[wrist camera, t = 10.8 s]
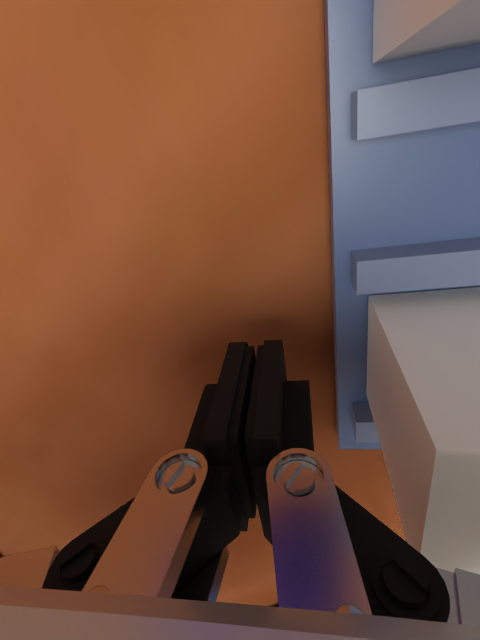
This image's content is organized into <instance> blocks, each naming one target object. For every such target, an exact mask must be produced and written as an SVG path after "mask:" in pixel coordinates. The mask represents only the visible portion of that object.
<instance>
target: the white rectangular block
mask: <svg viewBox="0 0 480 640" xmlns="http://www.w3.org/2000/svg"><path fill="white" fill-rule="evenodd" d="M366 395H367V398H368V402H369V406H370V409H371V413H372V417H373V420H374V424H375V428H376V431H377V435H378V439H379V442H380V446H381V450H382V453H383V457H384V461H385V464H386V468H387V472H388V475H389V479H390V483H391V486H392V490H393V493H394V497H395V501H396V504H397V508H398V512H399V515H400V519H401V523H402V526H403V530H404V534H405V537H406V541H407V543H408V544H409V545H411V546H412V547H413V548H414V549H416V550H417V551H418V552H419V553H421V554H422V555H423V556H424V557H426V558H427V559H428V560H429V561H430V562H431V563H432V564H433V565H434V566H435V567H436V568H440V569H443V570H447V571H450V572H454V571H455V568H458V569H461V570H465V571H469V572H472V573H476V574H479V575H480V287H472V288H460V289H447V290H435V291H422V292H410V293H397V294H384V295H372V296H369V298H368V343H367V387H366Z"/></svg>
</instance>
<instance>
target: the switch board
mask: <svg viewBox="0 0 480 640" xmlns="http://www.w3.org/2000/svg"><path fill="white" fill-rule="evenodd" d="M373 9H374V0H324V29H325V62H326V95H327V128H328V161H329V194H330V226H331V259H332V292H333V325H334V358H335V391H336V423H337V436H338V443H339V449H381V446H380V442H379V439H378V435H377V431H376V428H375V424H374V420H373V417H372V413H371V409H370V406H369V402H368V398H367V395H366V387H367V343H368V298H369V296H372V295H384V294H397V293H410V292H422V291H435V290H447V289H460V288H472V287H480V43H479V44H473V45H468V46H463V47H458V48H453V49H448V50H443V51H438V52H432V53H427V54H422V55H417V56H412V57H407V58H402V59H397V60H391V61H386V62H381V63H376V64H372V57H373Z"/></svg>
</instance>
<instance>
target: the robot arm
mask: <svg viewBox="0 0 480 640" xmlns="http://www.w3.org/2000/svg"><path fill="white" fill-rule="evenodd" d="M257 505H258V510H259V515H260V518H261V523H262V528H263V532H264V536H265V537H266V539H267V540H268V541H269V542H270V543H271V544H272V545H273V553H274V563H275V574H276V584H277V594H278V605H279V607H270V606H259V605H246V604H234V603H222V602H216V599H217V595H218V592H219V588H220V585H221V581H222V578H223V574H224V571H225V567H226V564H227V560H228V557H229V552H230V543H231V542H232V541H233V540H234V539H235V538H236V537H238V536H239V533H240V531H247V528H248V519H249V518H255V515H256V506H257ZM0 640H480V575H479V574H476V573H472V572H469V571H465V570H461V569H458V568H455V571H454V572H450V571H447V570H443V569H440V568H436V567H435V566H434V565H433V564H432V563H431V562H430V561H429V560H428V559H427V558H426V557H424V556H423V555H422V554H421V553H419V552H418V551H417V550H416V549H414V548H413V547H412V546H411V545H409V544H408V543H407V542H406V541H404V540H403V539H402V538H401V537H399V536H398V535H397V534H396V533H394V532H393V531H392V530H391V529H389V528H388V527H387V526H386V525H384V524H383V523H382V522H381V521H379V520H378V519H377V518H376V517H374V516H373V515H372V514H371V513H369V512H368V511H367V510H366V509H364V508H363V507H362V506H361V505H359V504H358V503H357V502H356V501H354V500H353V499H352V498H351V497H349V496H348V495H347V494H346V493H344V492H343V491H342V490H341V489H339V488H338V487H337V486H336V485H335V484H334V481H333V477H332V474H331V470H330V468H329V466H328V464H327V462H326V461H325V460H324V459H323V458H322V457H321V456H320V455H319V454H317V453H315V452H314V444H313V429H312V414H311V401H310V388H309V380H302V381H287V377H286V368H285V359H284V350H283V342H282V340H270V341H264V345H262V346H258V349H257V356H255V350H254V346H248V344H247V342H238V343H229V345H228V349H227V352H226V356H225V359H224V363H223V366H222V370H221V373H220V377H219V380H218V384H207V385H206V386H205V388H204V391H203V394H202V397H201V400H200V403H199V406H198V409H197V412H196V415H195V418H194V421H193V424H192V427H191V430H190V433H189V436H188V439H187V442H186V445H185V448H184V449H178V450H175V451H172V452H170V453H168V454H166V455H164V456H163V457H162V458H161V459H159V460H158V461H157V462H156V464H155V465H154V466H153V468H152V469H151V471H150V472H149V474H148V476H147V478H146V480H145V481H144V483H143V485H142V487H141V488H140V490H139V492H138V494H137V495H136V497H135V498H133V499H132V500H130V501H129V502H127V503H126V504H124V505H123V506H121V507H120V508H119V509H117V510H116V511H114V512H113V513H111V514H110V515H108V516H107V517H105V518H104V519H103V520H101V521H100V522H98V523H97V524H95V525H94V526H92V527H91V528H89V529H88V530H87V531H85V532H84V533H82V534H81V535H79V536H78V537H76V538H75V539H73V540H72V541H71V542H70V543H69V544H67V545H66V546H65V547H64V548H63V549H62V550H58V548H57V547H56V546H54V547H49V548H45V549H40V550H35V551H30V552H25V553H20V554H15V555H11V556H6V557H1V558H0Z"/></svg>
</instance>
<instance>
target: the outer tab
mask: <svg viewBox="0 0 480 640" xmlns="http://www.w3.org/2000/svg"><path fill="white" fill-rule="evenodd" d="M479 43H480V0H374V9H373V57H372V64H376V63H381V62H386V61H391V60H397V59H402V58H407V57H412V56H417V55H422V54H427V53H432V52H438V51H443V50H448V49H453V48H458V47H463V46H468V45H473V44H479Z"/></svg>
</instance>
